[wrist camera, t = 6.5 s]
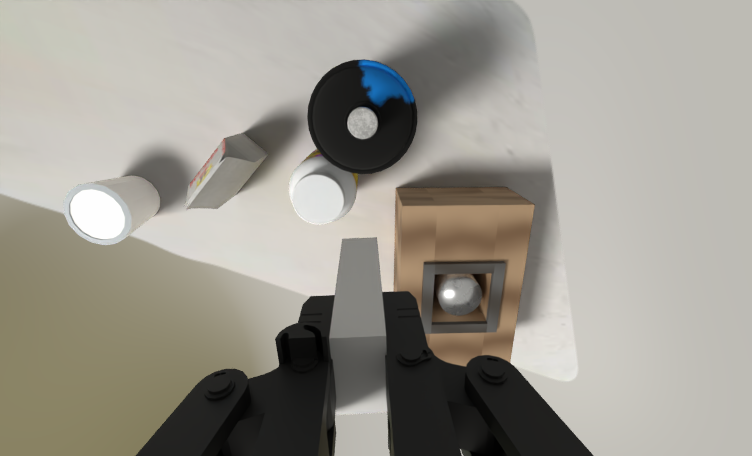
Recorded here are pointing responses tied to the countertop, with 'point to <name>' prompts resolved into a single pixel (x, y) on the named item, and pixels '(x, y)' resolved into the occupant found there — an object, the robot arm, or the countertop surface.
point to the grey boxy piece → (225, 172)
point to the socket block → (464, 263)
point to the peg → (457, 293)
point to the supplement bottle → (321, 190)
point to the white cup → (110, 208)
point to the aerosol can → (362, 116)
